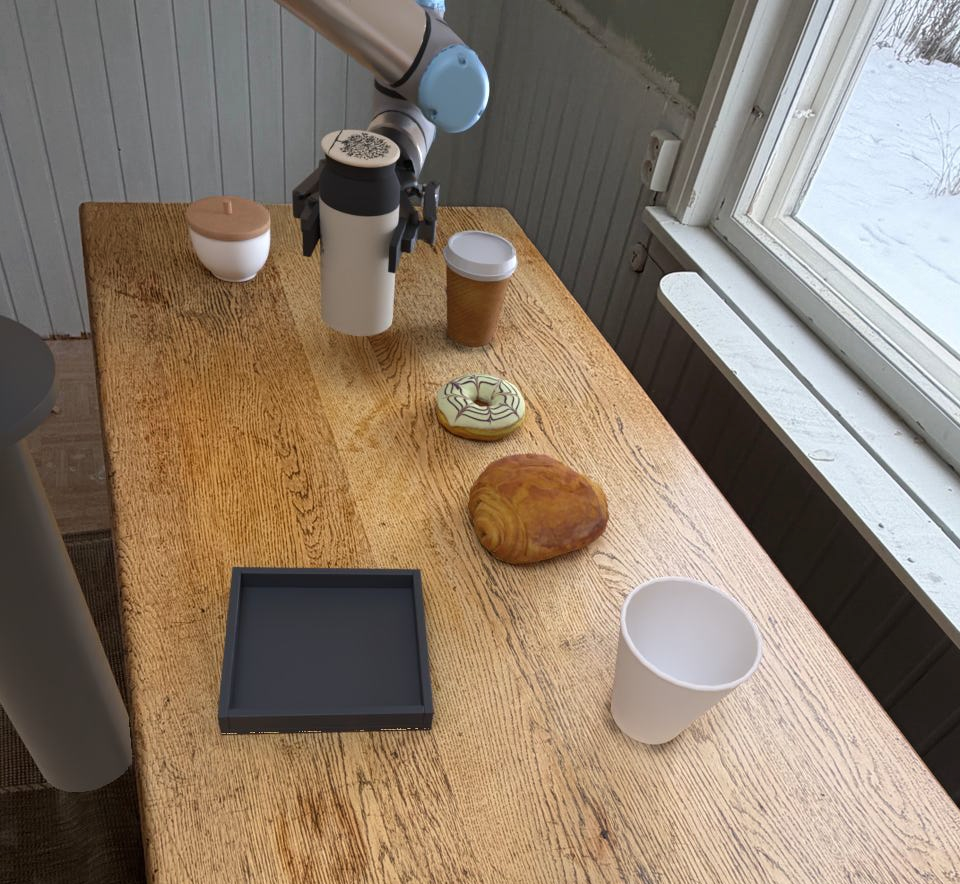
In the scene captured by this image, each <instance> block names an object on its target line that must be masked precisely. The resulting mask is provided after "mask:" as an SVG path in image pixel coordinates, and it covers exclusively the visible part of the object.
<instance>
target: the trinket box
mask: <svg viewBox="0 0 960 884" xmlns="http://www.w3.org/2000/svg"><path fill="white" fill-rule="evenodd" d="M185 218H186V223H187V226H188V233H189V238H190V241H191V245H192V248H193V250H194V253H195V255H196V257H197V258H198V260H199V261H200V262H201V264H202V265H203V266H204V267H205V269H207V270H208V271H209V272H211V274H212V275H213V277H215V278H216V279H218V280H221V281H224V282H229V283H242V282H247V281H250V280H252V279H254V278H255V277H256V276H257V274H258V272H259V271H260V270H261V269H262V268H263V267H264V265H265V264H266V262H267V260H268V257H269V254H270V249H271V223H272V222H271V215H270V212H269V211H268V210H267V208H265V206H263V205H262V204H260V203H259V202H257V201H254V200H252V199H249V198H245V197H241V196H233V195H211V196H207V197H202V198H199V199H197V200H195V201H193V202H192V203H190V204H189V205H188V206H187V208H186V210H185Z"/></svg>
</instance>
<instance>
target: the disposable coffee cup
mask: <svg viewBox="0 0 960 884" xmlns="http://www.w3.org/2000/svg"><path fill="white" fill-rule="evenodd" d="M442 254H443V259H444V262H445V274H446V275H445V276H446V277H445V278H446V323H447V324H446V332H447V335H448V337H449V338H450V339H451V340H452V341H454V342H455V343H458V344H460V345H463V346H468V347H482V346H485V345H488V344H489V343H490V342H491V341H492V340H493V337H494V334H495V330H496V327H497V324H498V321H499V318H500V314H501V311H502V307H503V304H504V301H505V298H506V296H507V295H506V294H507V290H508V287H509V285H510V281H511V278H512V275H513V274H514V272H515V270H516V269H517V267H518V259H517V255H516V249H515V246H514V245H513V244H512V243H511V241H509V240H507V239H506V238H505V237H502V236H501V235H498V234H496V233H492V232H489V231H485V230H484V231H483V230H475V229H474V230H473V229H472V230H471V229H470V230H463V231H459V232H456V233H453V234H452V235H450V237H449V238H448V241H447V243H446V245H444V248H443V250H442Z"/></svg>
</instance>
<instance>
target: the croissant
mask: <svg viewBox="0 0 960 884" xmlns="http://www.w3.org/2000/svg"><path fill="white" fill-rule="evenodd" d="M468 495H469V500H468V503H467V509H468V510H469V511H470V516H471V519H472V520H473V521H472V523H473V528H474V529H473V530H474V533H475V534H476V537H477V539H478V540H479V541H480V544H481V546H483V547H484V548H486V550H487V551H489V553H490V554H492V556H493V558H496V559H498V560H500V561H502V562H505V563H508V564H512V565H516V564H524V563H525V564H529V563H536V562H539V561H545V560H549V559H552V558H554V557H557V556H561V555H564V554H567V553H569V552H574V551H577V550H580V549H583V548H585V547H587V546H589V545H590V544H592V543H593V542H595V541H596V540H598V539H599V538H600V537H602V535H603V534H605V532H606V529H607V525H608V521H609V519H610V512H609V508H608V507H609V505H608V497H607V495H606V493H605V491H604V489H603V488H602V486H601V485H600V483H598V482H596V481H593V480H592V479H591V478H590V477H588V475H585V474H584V473H581V472H578V471H576V470H574V468H573V469H572V467H569V466H567V465H565V464H564V462H562V461H560V460H558V459H556V458H553V457H551V456H549V455H547V454H543V453H542V454H539V453H538V454H537V453H530V452H529V453H519V454H518V453H517V454H515V453H514V454H510V455H505V456H503V457H501V458H499V459H496V460H493V461H492V462H490V463H489V464H487V466H486V467H485V469H484V470H483V471H482V472H481V473H479V475H478V477H477V479H476V480H474V481H473V483H472V486H471V487H470V489H469V494H468Z"/></svg>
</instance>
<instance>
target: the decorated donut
mask: <svg viewBox="0 0 960 884" xmlns="http://www.w3.org/2000/svg"><path fill="white" fill-rule="evenodd" d="M435 407H436V408H435V409H436V416H437V418H438V422H439V424H441V425H442V426H443V427H444V428H445V429H446V430H448V431H449V432H450V433H452V434H453V435H457V436H458V437H459V436H460V437H463V438H464V439H470V440H471V439H472V440H477V441H498V440H501V439H503V438H506V437H508V436H510V435H511V434H513V433H514V432H515V431H517V429H518V428H519V427H520V426H521V425H522V424H523V422H524V420H525V416H526V403H525V400H524V398H523V396H522V393H521V392H520V390H519V389H518V388H517V386H516V385H515V384H513V383H511V382H509V381H507V380H506V379H505V378H501V377H498V376H497V375H496V376H495V375H491V374H488V373H469V374H464V375H461V376H459V377H455V378H453V379H451V380H449V381H448V382H446V383H445V384H443V385H442V386H441V387H440V389H438V391H437V394H436V406H435Z"/></svg>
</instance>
